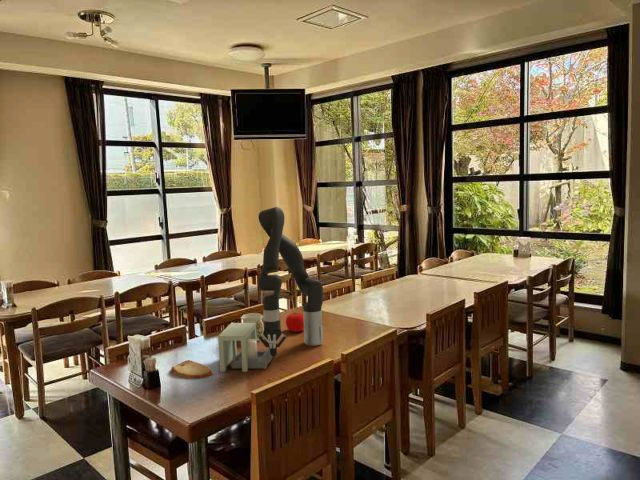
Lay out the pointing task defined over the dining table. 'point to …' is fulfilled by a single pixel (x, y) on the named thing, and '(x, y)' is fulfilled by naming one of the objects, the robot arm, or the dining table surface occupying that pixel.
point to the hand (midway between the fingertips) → (273, 355)
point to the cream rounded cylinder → (252, 350)
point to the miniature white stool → (229, 343)
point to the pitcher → (254, 319)
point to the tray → (262, 361)
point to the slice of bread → (191, 370)
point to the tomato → (295, 322)
